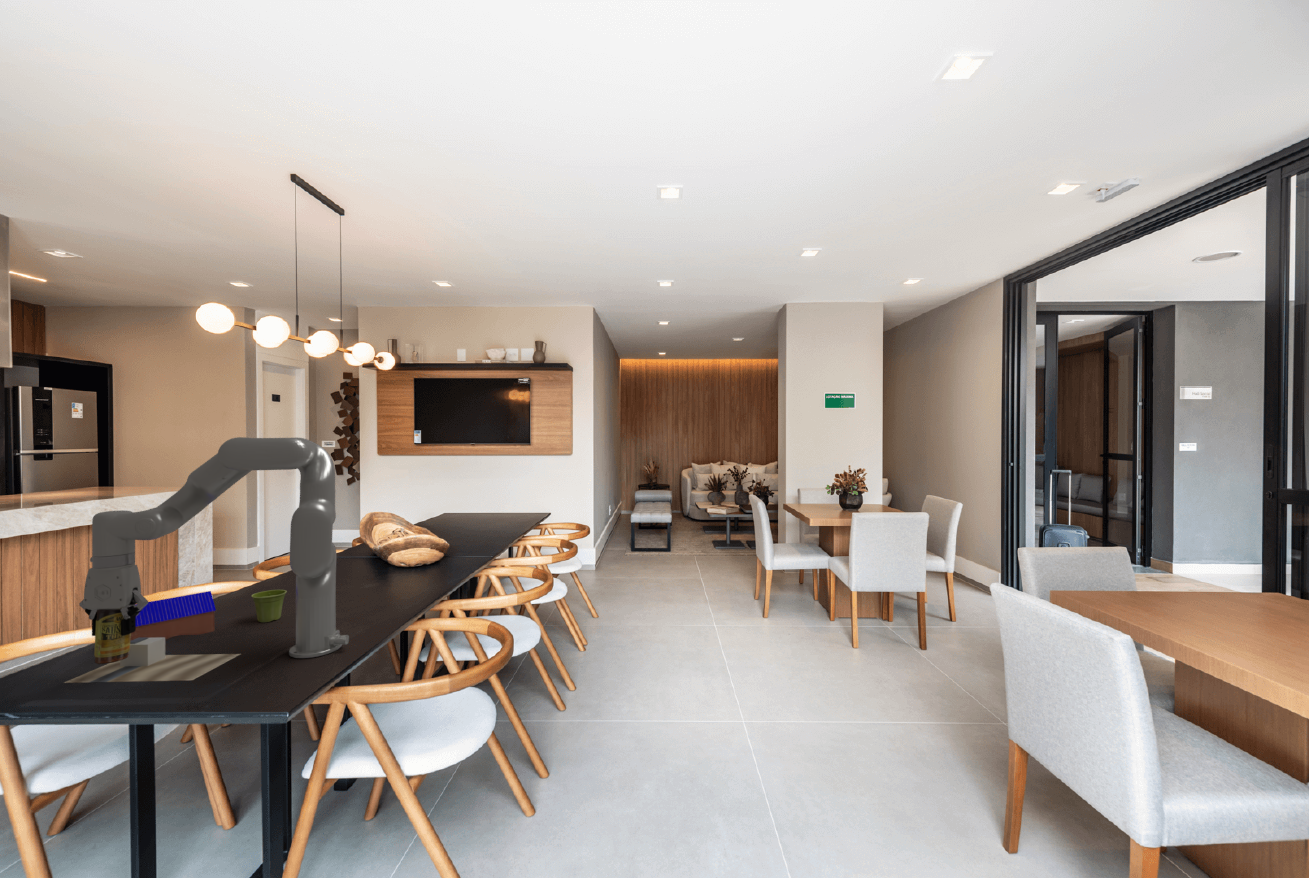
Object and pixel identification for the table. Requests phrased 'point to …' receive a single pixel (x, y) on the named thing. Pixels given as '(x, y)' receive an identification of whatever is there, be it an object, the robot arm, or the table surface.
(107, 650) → the sauce bottle
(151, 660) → the light grey block
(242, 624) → the table surface
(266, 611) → the plant pot
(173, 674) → the board
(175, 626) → the house
